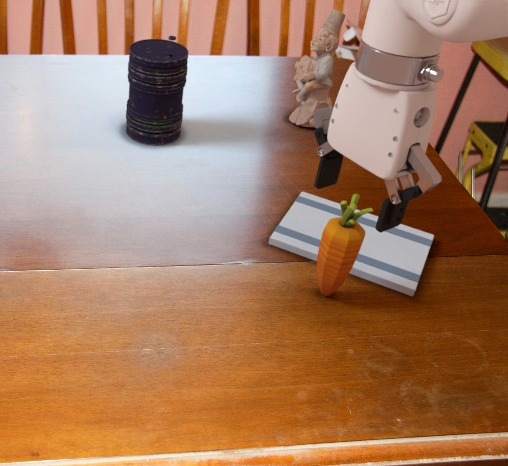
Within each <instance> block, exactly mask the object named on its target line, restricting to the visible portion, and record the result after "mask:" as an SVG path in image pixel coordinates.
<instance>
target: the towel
mask: <svg viewBox="0 0 508 466" xmlns="http://www.w3.org/2000/svg"><path fill="white" fill-rule="evenodd" d="M340 204H341V203H339V202H336V201H333V200H329V199H327V198H324V197H321V196H318V195H314V194H312V193H309V192H306V191H301V192H300V194H299V195H297V197H296V199H295V200H294V202H293V203H292V205H291V206H290V208H289V209H288V211H287V212H286V213H285V215H284V216H283V217H282V220H281V221H280V222H279V223H278V224H277V226H276V227H275V229H274V230H273V232H272V234H271V235H270V236H269V240H268V245H271V246H273V247H276V248H278V249H282V250H284V251H287V252H290V253H293V254H296V255H298V256H301V257H304V258H306V259H309V260H311V261H314V262H317V255H318V250H319V246H320V241H321V237H322V233H323V230H324V228H325V226H326V225H327V223H328V221H329V220H330V219H332V218H337V217H343V215H342V211H341V206H340ZM360 211H361V209H358V208H356V210H355V211H354V212H357V213H358V212H360ZM378 217H379V215H375V214H372V213H366V214H364V215H362V216H360V217H359V218H358V219H357V220H356V221H357V222H358V223H359V224H360V225H361V226H362V228H363V229H364V230H365V237H364V240H363V243H362V246H361V248H360V251H359V253H358V256H357V258H356V261H355V263H354V265H353V267H352V269H351V271H350V273H349V274H348V275H352V276H356V277H357V278H361V279H363V280H365V281H369V282H372V283H374V284H376V285H380V286H381V287H382V286H383V287H385V288H387V289H390V290H393V291H396V292H398V293H402V294H404V295H407V296H409V297H414V295H415V292H416V290H417V287H418V284H419V281H420V279H421V275H422V273H423V270H424V267H425V264H426V261H427V259H428V255H429V252H430V249H431V246H432V244H433V241H434V238H435V234H432V233H430V232H426V231H424V230H421V229H418V228H413V227H411V226H408V225H405V224H402V223H401V224H400V225H398V226H397V227H394V228H391V229H389V230H386V231H384V232H381V233H380V232H378V231H377V230H376V228H375V227H376V223H377V220H378Z"/></svg>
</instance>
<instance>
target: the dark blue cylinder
mask: <svg viewBox="0 0 508 466" xmlns="http://www.w3.org/2000/svg"><path fill="white" fill-rule="evenodd" d="M176 40H177V36H175V35H169V36H168V39H161V38H147V39H140V40H137V41H135V42H133V43H131V44H130V46H129V48H128V49H129V51H128V54H129V56H128V63H127V72H128V73H127V81H128V84H129V85H128V99H127V100H126V110H125V122H126V123H125V124H126V126H125V133H126V135H127V137H128V138H129V139H131V140H133V141H134V142H135V143H139V144H142V145H147V146H166V145H169V144H172V143H175V142H177V140H179V138H180V137H181V134H182V133H181V128H182V123H183V118H184V114H183V113H184V104H183V99H184V88H185V86H186V83H187V75H188V70H189V69H188V59H189V49H188V48H187V47H186V46H184V45H183V44H181V43H179V42H177V41H176Z"/></svg>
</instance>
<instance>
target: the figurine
mask: <svg viewBox="0 0 508 466" xmlns="http://www.w3.org/2000/svg"><path fill="white" fill-rule="evenodd" d="M345 18H346V14H345V13H344V12H343V11H339V10H337V9H331V11H330V13H329V14H328V16H327V18H326V20H325V22H324V24H323V25H322V26H321V28H320V29H319V30H318V31H317V33H316V35H315V38H313V39H312V40H310V48H309V49H310V51H311V52H314V53H315V55H314V56H313V57H310V56H308V55H307V54H305V55H303V56H302V57H301V58H300V59H299V60H297V61H296V62H295V64H294V70H295V75H294V76H293V82H294V83H296V85H297V88H296V89H294V90H293V91H291V94H293V95H295V97H296V98H295V101H296V102H297V103H299V104H300V105H299V106H297V108H295V109H294V111H292V112H291V114H290V115H289V118H288V120H289V121H290V122H291V123H292V124H295V125H296V126H301V127H306V128H316V127H315V124H314V117H313V112H314V110H316V109H320V108H326V107H333V101H332V98H331V97H330V96H329V94H330V89H331V88H333V85H334V84H333V82H332V79H331V78H330V77H331V76H332V74H333V66H334V58H333V56H332V54H334V53H335V52H336V50H338V48H339V34H340V31H341V29H342V26H343V24H344V22H345ZM329 123H330V120H329Z"/></svg>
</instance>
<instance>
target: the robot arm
mask: <svg viewBox="0 0 508 466" xmlns="http://www.w3.org/2000/svg"><path fill="white" fill-rule="evenodd" d="M501 38H508V0H369V4H368V8H367V13H366V17H365V22H364V24H363V29H362V33H361V37H360V40H359V45H358V49H357V53H356V57H355V61H353V62H352V63H351V64H350V66H349V68H348V69H347V71H346V73H345V76H344V78H343V80H342V82H341V85H340V88H339V90H338V93H337V97H336V99H335V102H334V105H333V106H332V107H326V108H320V109H316V110H314V112H313V117H314V124H315V127H314V128H315V129H314V137H315V140H316V143H317V145H318V147H317V149H316V153H317V155H318V156H319V157H320V158H319V163H318V167H317V170H316V171H317V172H316V176H315V180H314V184H313V187H314V188H316V189H317V190H320V189H324V188H327V187H331V186H333V185H336V184H338V182H339V178H340V173H341V169H342V165H343V161H344V157H345V158H347V159H349V160H350V161H352V162H353V163H355V164H356V165H358V166H360V168H363V169H364V170H366V171H368V172H369V173H371V174H372V175H374V176H376V177H378V178H380V179H382V180H383V181H384V184H385V187H386V190H387V195H388V197H387V198H385V199H384V200H383V201H382V204H381V207H380V211H379V213H378V220H377V223H376V227H375V228H376V230H377V231H378V232H380V233H381V232H384V231H386V230H389V229H391V228H394V227H397V226H398V225H400V224H402V222H403V220H404V217H405V214H406V211H407V208H408V205H409V203H410V201H411V200H414V199H417V198H420V197H423V196H425V195H428V194H429V192H430V191H432V190H433V189H434V188H435V187H437V186H438V185H439V184H440V183H441V182H442V180H443V179H442V175H441V174H440V172H439V171H438V170H437V168H436V167H435V165H434V164H433V162H432V161H431V159H429V157H428V156H427V150H428V145H429V142H430V138H431V135H432V130H433V124H434V120H435V114H436V109H437V108H436V107H437V98H438V96H437V95H438V86H437V85H436V84H437V83H439V82H441V80H442V79H443V78H444V76H445V70H444V69H442V68H440V67H439V64H438V63H439V60H440V57H441V56H440V55H441V51H442V48H443V45H444V42H447V43H452V44H468V43H477V42H482V41H490V40H495V39H501ZM329 120H330V123H329ZM415 173H416V174H417V176H418V181H417V182H416V183H415V182H414V181H415V180H414V178H413V174H415ZM398 179H399V181H400V183H399V182H398ZM399 184H400V185H401V187H402V188H400V185H399Z"/></svg>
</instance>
